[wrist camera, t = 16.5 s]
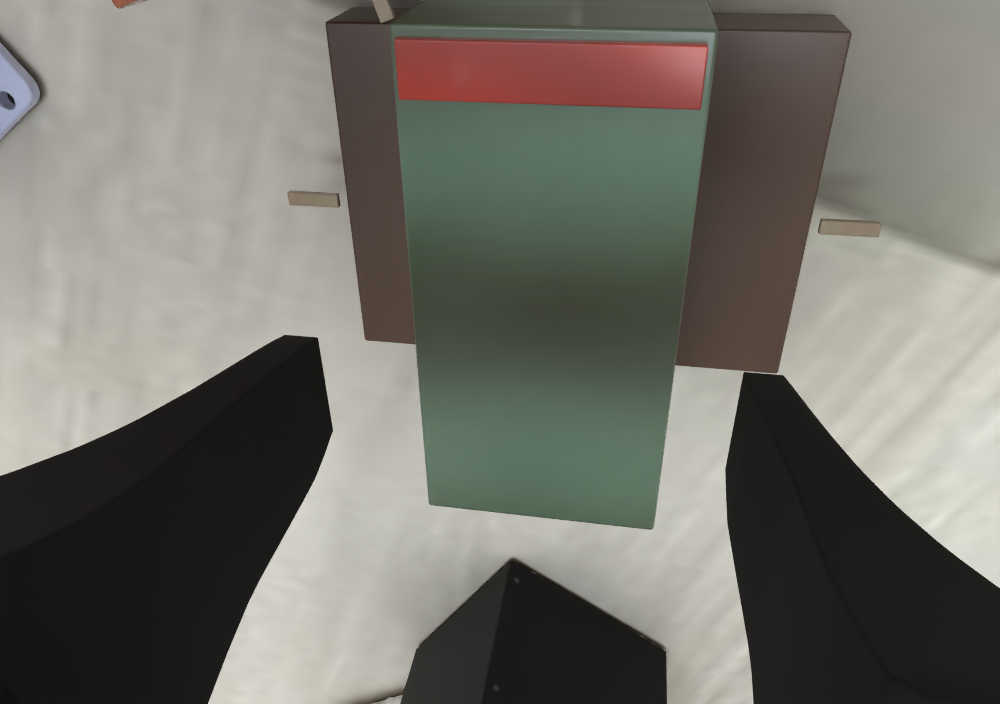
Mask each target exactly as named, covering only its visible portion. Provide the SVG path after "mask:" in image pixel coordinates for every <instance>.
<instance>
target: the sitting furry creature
mask: <svg viewBox="0 0 1000 704" xmlns="http://www.w3.org/2000/svg"><path fill="white" fill-rule="evenodd" d="M402 696H403V694H402V695H399V696H396V697H393V698H392V697H388V698H387V699H386V700H384V701H380V702H376V703H372V704H400V703H401V699H402Z"/></svg>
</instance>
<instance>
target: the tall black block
mask: <svg viewBox="0 0 1000 704" xmlns="http://www.w3.org/2000/svg"><path fill="white" fill-rule="evenodd" d="M400 704H667V678H666V651H664V650H663V649H661V648H659V647H658V646H656V645H654V644H652V642H651V641H649V640H647V639H645V638H644V637H643V636H641V635H639V634H637V633H635V632H634V631H632V630H630V629H629V628H627V627H625V626H623V625H622V624H620V623H618V622H617V621H615V620H613V619H612V618H610V617H608V616H606V615H605V614H603V613H601V612H600V611H598V610H596V609H595V608H593V607H591V606H590V605H588V604H586V603H584V602H583V601H581V600H579V599H578V598H576V597H574V596H573V595H571V594H569V593H568V592H566V591H564V590H562V589H561V588H559V587H557V586H556V585H554V584H552V583H551V582H549V581H547V580H546V579H544V578H542V577H540V576H539V575H537V574H536V573H535V572H533V571H530V570H529V569H525V568H524V567H522V566H520V565H519V564H517V563H515V562H512V561H511V562H509V563H508V564H507V565H506V566H505V567H504V568H502V569H501V570H500V571H499V572H498V573H497V574H496V575H495V576H494V577H493V578H492V579H491V580H490V581H489V582H488V583H486V584H485V585H484V586H483V587H482V588H481V589H480V590H479V591H478V592H477V593H476V594H475V595H474V596H473V597H472V598H471V599H469V600H468V601H467V602H466V603H465V604H464V605H463V606H462V607H461V608H460V609H459V610H458V611H457V612H456V613H455V614H454V615H452V616H451V617H450V618H449V619H448V620H447V621H446V622H445V623H444V624H443V625H442V626H441V627H440V628H439V629H438V630H436V631H435V632H434V633H433V634H432V635H431V636H430V637H429V638H428V639H427V640H426V641H425V642H424V643H423V644H422V645H421V646H419V647H418V648H417V649H416V653H415V656H414V659H413V663H412V666H411V669H410V673H409V676H408V679H407V683H406V686H405V689H404V693H403V696H402V699H401V703H400Z"/></svg>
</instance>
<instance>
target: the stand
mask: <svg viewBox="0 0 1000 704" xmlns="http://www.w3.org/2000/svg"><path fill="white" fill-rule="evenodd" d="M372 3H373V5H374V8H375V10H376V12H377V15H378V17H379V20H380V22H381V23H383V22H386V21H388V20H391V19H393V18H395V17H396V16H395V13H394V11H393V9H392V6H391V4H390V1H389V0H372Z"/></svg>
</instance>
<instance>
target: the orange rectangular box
mask: <svg viewBox="0 0 1000 704" xmlns="http://www.w3.org/2000/svg"><path fill="white" fill-rule="evenodd" d="M112 1H113V3H114V5H115V6H116V7H117V8H124V7H127V6H131V5H134V4H137V3H141V2H144V1H147V0H112Z"/></svg>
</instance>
